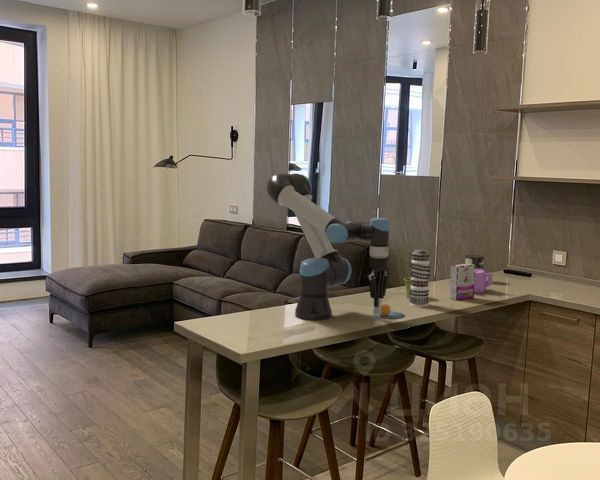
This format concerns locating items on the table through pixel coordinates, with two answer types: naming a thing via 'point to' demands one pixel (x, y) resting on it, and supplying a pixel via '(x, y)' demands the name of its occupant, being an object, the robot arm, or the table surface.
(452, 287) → the candy bar box
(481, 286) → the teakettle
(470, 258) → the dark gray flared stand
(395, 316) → the disc
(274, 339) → the table surface
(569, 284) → the table surface
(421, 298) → the decorative candle
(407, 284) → the plant pot
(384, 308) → the ball
